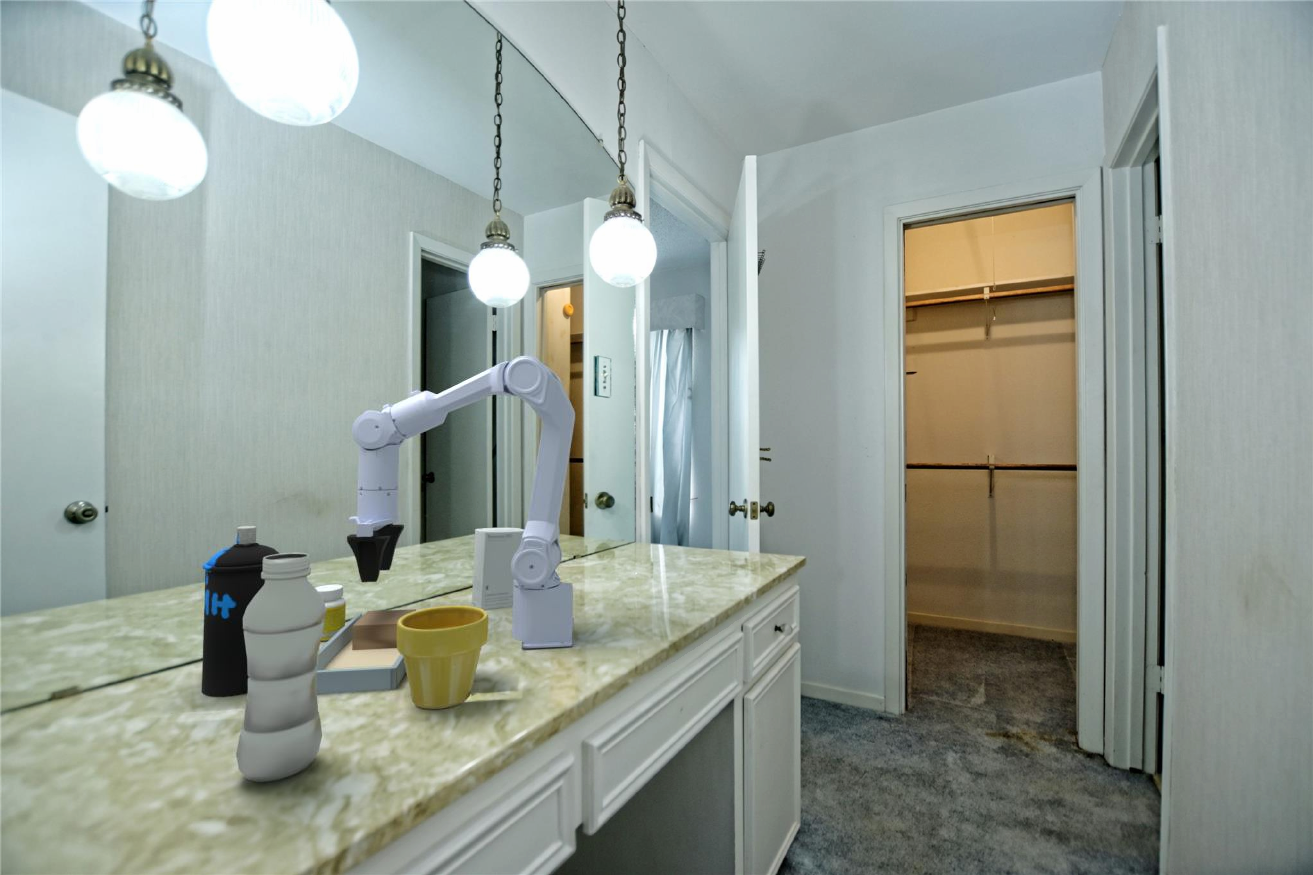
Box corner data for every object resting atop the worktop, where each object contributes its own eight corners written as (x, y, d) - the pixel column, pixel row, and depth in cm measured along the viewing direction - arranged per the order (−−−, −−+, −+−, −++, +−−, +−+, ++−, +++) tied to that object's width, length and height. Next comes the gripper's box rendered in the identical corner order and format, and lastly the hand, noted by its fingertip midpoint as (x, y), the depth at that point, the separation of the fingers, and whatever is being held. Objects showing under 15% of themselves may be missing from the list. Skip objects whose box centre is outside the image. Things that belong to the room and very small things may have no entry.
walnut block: (415, 631, 88) (416, 609, 88) (404, 647, 81) (405, 623, 81) (367, 633, 87) (367, 610, 87) (352, 650, 80) (352, 625, 80)
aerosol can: (274, 671, 75) (278, 520, 75) (289, 692, 69) (293, 528, 69) (194, 689, 69) (199, 525, 69) (202, 713, 63) (208, 534, 63)
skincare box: (481, 616, 100) (483, 532, 100) (470, 607, 105) (472, 527, 105) (526, 609, 105) (528, 529, 105) (513, 601, 110) (515, 524, 110)
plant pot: (419, 677, 74) (421, 602, 74) (497, 680, 73) (499, 605, 73) (377, 715, 63) (379, 628, 63) (468, 719, 63) (470, 631, 63)
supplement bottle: (351, 638, 87) (353, 584, 87) (330, 649, 83) (332, 592, 83) (322, 637, 88) (324, 583, 88) (300, 647, 83) (302, 590, 83)
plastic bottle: (262, 752, 55) (269, 549, 56) (334, 751, 56) (340, 550, 56) (217, 793, 49) (224, 563, 49) (299, 791, 50) (305, 564, 50)
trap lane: (464, 630, 92) (465, 609, 92) (439, 694, 69) (439, 665, 69) (357, 635, 89) (358, 613, 89) (292, 703, 66) (293, 673, 66)
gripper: (364, 485, 95) (362, 566, 94) (334, 493, 80) (332, 588, 80) (409, 485, 96) (407, 565, 96) (387, 493, 82) (385, 586, 82)
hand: (376, 575), depth 88 cm, fingers open, 7 cm apart
